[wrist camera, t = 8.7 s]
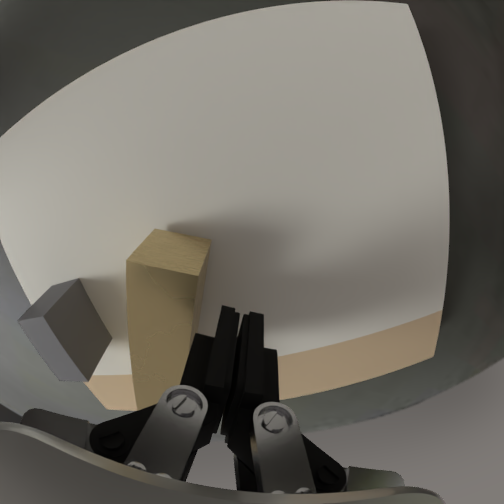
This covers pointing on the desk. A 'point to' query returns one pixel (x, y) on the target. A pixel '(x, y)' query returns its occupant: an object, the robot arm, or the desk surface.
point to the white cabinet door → (242, 193)
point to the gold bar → (163, 309)
